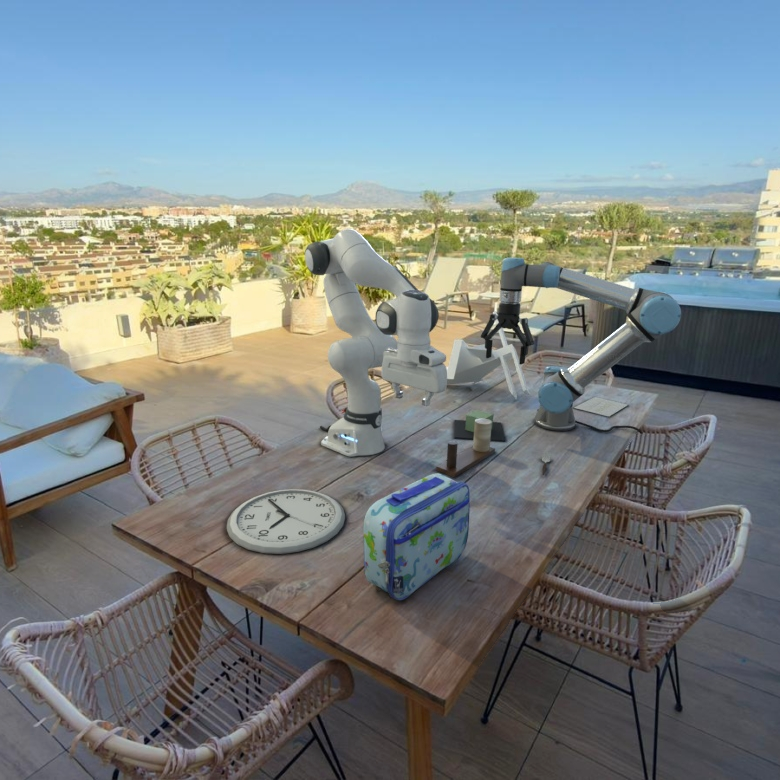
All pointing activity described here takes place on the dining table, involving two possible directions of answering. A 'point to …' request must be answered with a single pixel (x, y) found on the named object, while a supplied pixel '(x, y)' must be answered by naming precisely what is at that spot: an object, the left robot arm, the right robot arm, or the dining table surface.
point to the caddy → (468, 450)
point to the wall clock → (285, 521)
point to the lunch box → (415, 534)
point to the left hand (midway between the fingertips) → (412, 401)
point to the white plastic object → (482, 363)
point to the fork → (545, 461)
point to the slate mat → (465, 434)
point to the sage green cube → (476, 415)
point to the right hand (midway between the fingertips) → (504, 360)
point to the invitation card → (601, 406)
